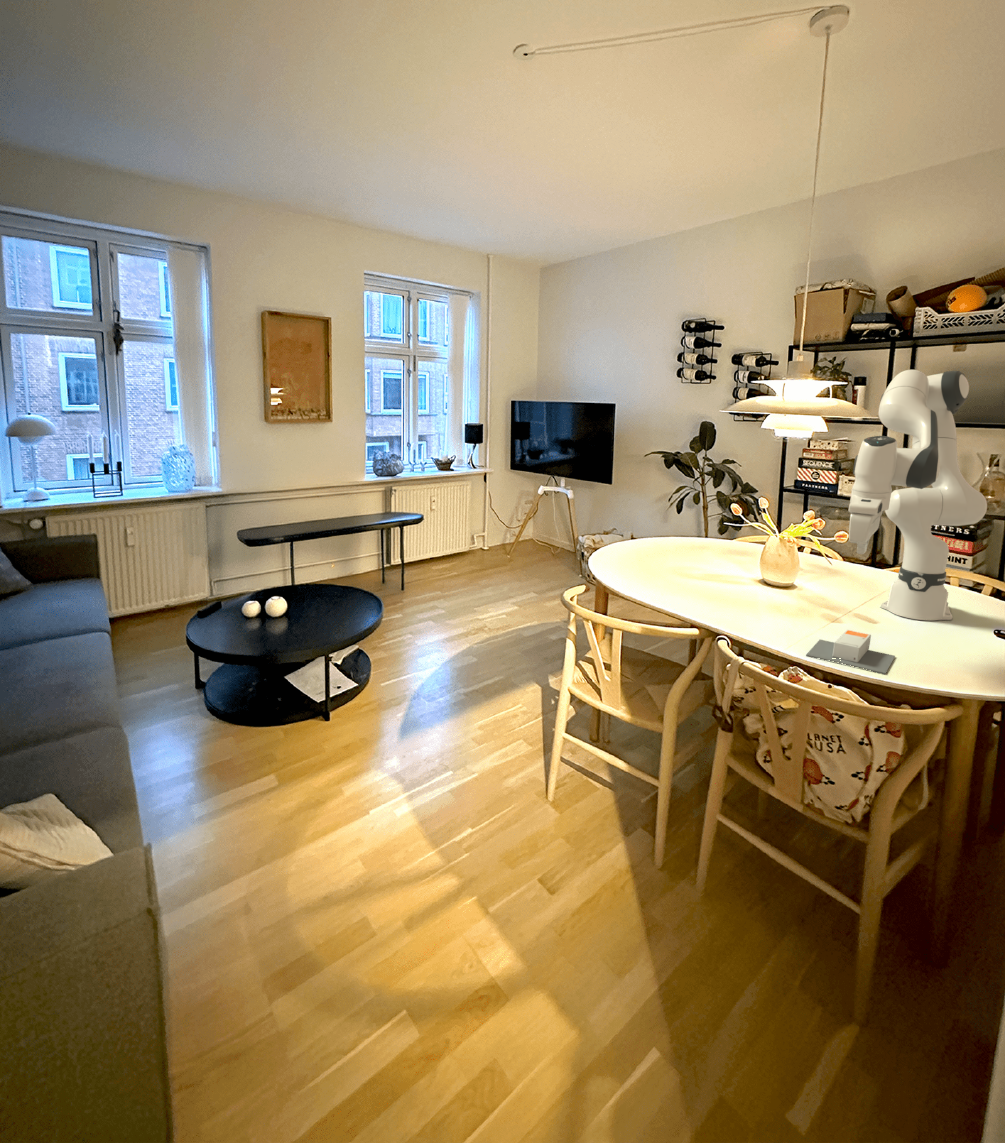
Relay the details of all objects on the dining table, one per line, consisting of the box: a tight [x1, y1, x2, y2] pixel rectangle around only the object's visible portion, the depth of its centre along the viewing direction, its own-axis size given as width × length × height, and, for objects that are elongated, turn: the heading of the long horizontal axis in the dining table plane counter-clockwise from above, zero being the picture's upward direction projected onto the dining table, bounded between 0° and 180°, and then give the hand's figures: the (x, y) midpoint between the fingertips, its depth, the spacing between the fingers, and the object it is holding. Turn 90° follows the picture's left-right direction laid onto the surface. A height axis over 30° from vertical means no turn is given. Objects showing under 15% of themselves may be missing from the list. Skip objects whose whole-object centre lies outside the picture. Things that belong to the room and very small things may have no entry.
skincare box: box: [832, 629, 872, 662], centre depth 162 cm, size 6×4×12 cm
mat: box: [805, 639, 896, 675], centre depth 161 cm, size 14×18×1 cm
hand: (861, 552), depth 164 cm, fingers closed
